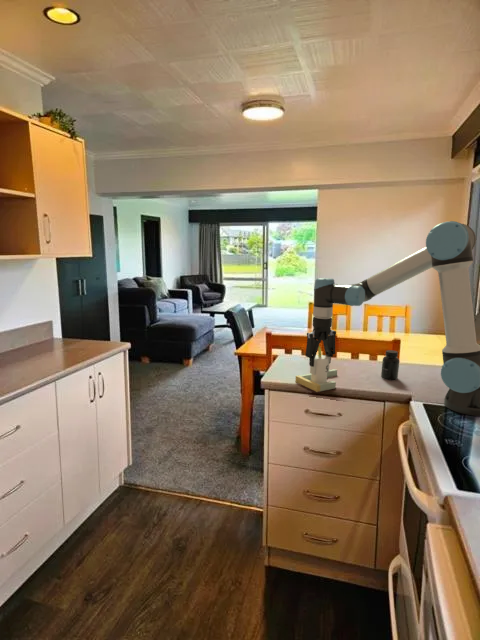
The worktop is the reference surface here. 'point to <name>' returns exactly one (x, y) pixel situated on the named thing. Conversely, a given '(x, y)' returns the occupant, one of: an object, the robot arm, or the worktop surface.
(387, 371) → the supplement bottle
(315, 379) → the candle
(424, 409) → the worktop surface
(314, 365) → the robot arm
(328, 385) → the rail
